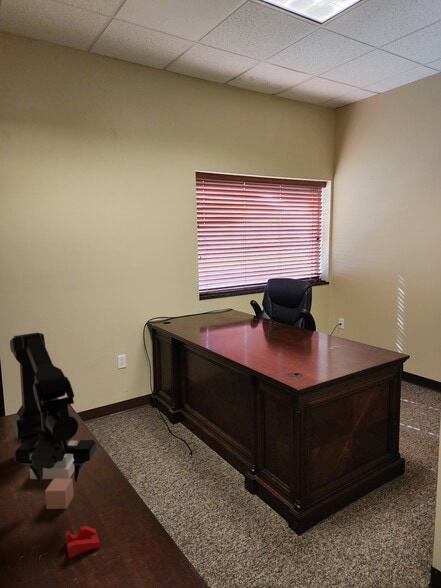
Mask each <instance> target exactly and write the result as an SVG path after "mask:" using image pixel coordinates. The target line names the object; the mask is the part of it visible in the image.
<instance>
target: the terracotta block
mask: <svg viewBox="0 0 441 588" xmlns="http://www.w3.org/2000/svg"><path fill="white" fill-rule="evenodd" d="M51 480H52V481H50V483H49V485H48V486H47V487H46V489H45V490H44V495H45V496H44V497H45V507H46V510H51V509H52V510H57V509H58V510H62V509H63V510H64V509H65V510H66V509H67V508H68V506H69V505H70V503H71V501H72V500H73V499H74V496H75V494H74V493H75V491H74V479H73V478H70V479H51Z"/></svg>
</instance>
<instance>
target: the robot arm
mask: <svg viewBox="0 0 441 588" xmlns="http://www.w3.org/2000/svg"><path fill="white" fill-rule="evenodd" d="M9 347H10V352H11V353H12V354H13V357H14V358H15V359H16V361H17V363H18V364H19V374H20V376H19V377H20V391H21V406H20V407H19V409H18V410H17V412H16V420H15V421H14V426H13V429H14V430H13V431H14V436H15V437H16V439H17V440H20V445H19V446H18V447H17V449H16V450H15V451H14V453H13V456H14V457H13V458H14V461H15V462H16V463H20V465H26V466H28V467H29V469H30V468H31V469H32V471H33V472H34V474H35V476H36V478H37V479H36V480H37V481H38V482H39V483H42V482H43V480H44V479H43V468H47V469H50V468H52V467H54V465H55V463H57V462H58V461H62V460H63V458H64V455H65V454H73V459H74V461H73V464H74V472H73V473H74V474H73V475H74V482H75V483H77V482H78V480H79V478H80V475H81V471H82V468H83V465H84V464H86V462H89V461H91V459H92V458H93V456H94V454H95V452H96V451H97V449H98V448H97V442H96V441H95V440H94V439H80V440H79V442H78V444H77V445H68V443H69V441H71V439H72V438H73V437H75V435H77V432H78V430H79V422H78V421H77V419H76V417H75V416H74V415H73V414H72V413H71V412H70V411H69V408H68V407H69V405H73V404H74V403H75V402H74V398H75V393H74V389H73V386H72V384H71V381H70V380H69V377H67V376H65V374H64V372H63V370H62V368H59V367H57V366H55V365H54V363H53V361H52V359H51V357H50V355H49V352H48V350H47V347H46V341H45V334H44V333H42V332H32V333H25V334H24V333H23V334H18V335H14V336H13V338H11V339H10V340H9ZM65 395H66V397H65Z"/></svg>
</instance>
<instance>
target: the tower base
mask: <svg viewBox="0 0 441 588" xmlns="http://www.w3.org/2000/svg"><path fill="white" fill-rule="evenodd" d="M78 443H79V442H78V440H70V441H69V443H68V445H77V444H78ZM73 461H74V459H73V454H65V455H64V458H63V460H62V461H58V462H57V463H55V465H54V467H52V468H50V469H47V468H43V479H42V480H53V479H71V477H72V475H74V474H73V473H74V464H73ZM29 478H30V480H38V479H37V478H36V476H35V474H34V472H33V471H32V469H31V468H30V467H29Z"/></svg>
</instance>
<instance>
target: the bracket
mask: <svg viewBox="0 0 441 588" xmlns="http://www.w3.org/2000/svg"><path fill="white" fill-rule="evenodd" d="M79 528H80V529H79V530H78V532H76V533H71V531H70V530H68V531H65V532H64V534H65V545H66V550H67V554H68V555H67V556H68V559H71V558H74V557H76V556H78V555H80V554H82V553H85V552H88V551H91V550H95V549H98V548H100V547H101V542H100V539H99V536H98V534H97V530H96V529H95V528H92V527H90V526H88V525H82V526H80V527H79Z"/></svg>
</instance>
